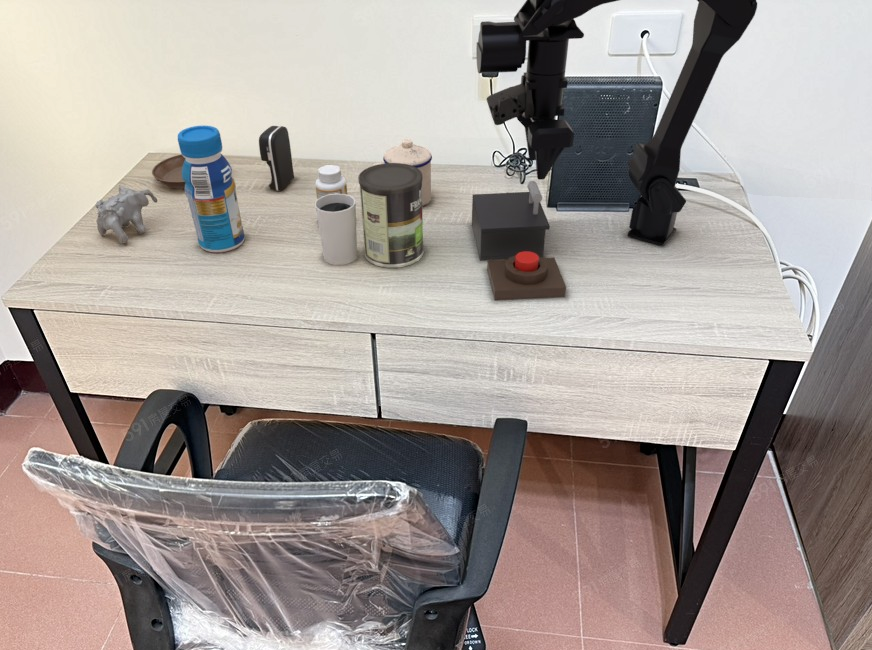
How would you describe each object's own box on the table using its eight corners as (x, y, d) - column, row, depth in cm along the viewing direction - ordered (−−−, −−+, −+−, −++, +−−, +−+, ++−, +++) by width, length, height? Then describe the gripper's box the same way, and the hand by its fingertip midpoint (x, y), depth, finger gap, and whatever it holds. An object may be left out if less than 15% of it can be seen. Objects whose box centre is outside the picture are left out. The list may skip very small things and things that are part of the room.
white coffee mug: (342, 242, 125) (337, 189, 119) (367, 255, 122) (363, 202, 115) (313, 256, 122) (306, 203, 115) (338, 270, 118) (332, 216, 112)
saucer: (142, 179, 149) (138, 166, 147) (204, 157, 156) (201, 145, 154) (177, 201, 140) (173, 188, 138) (240, 177, 148) (238, 165, 146)
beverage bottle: (189, 243, 127) (160, 134, 114) (227, 226, 131) (204, 118, 118) (216, 259, 122) (190, 147, 109) (255, 240, 127) (235, 130, 114)
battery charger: (279, 176, 147) (270, 121, 140) (295, 178, 146) (287, 123, 139) (263, 190, 142) (254, 135, 135) (281, 192, 141) (272, 136, 134)
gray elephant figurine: (91, 242, 128) (77, 203, 123) (129, 212, 137) (117, 174, 132) (135, 248, 126) (123, 208, 121) (171, 217, 135) (161, 179, 130)
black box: (529, 222, 129) (532, 195, 125) (542, 258, 119) (545, 229, 116) (471, 225, 129) (472, 198, 125) (479, 261, 119) (481, 233, 116)
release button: (535, 260, 113) (536, 250, 112) (539, 272, 110) (540, 262, 109) (513, 261, 113) (513, 251, 112) (516, 273, 110) (517, 263, 109)
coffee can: (428, 240, 125) (427, 163, 116) (417, 270, 117) (416, 191, 108) (371, 236, 127) (366, 160, 118) (357, 265, 119) (350, 187, 110)
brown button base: (553, 267, 117) (555, 248, 115) (565, 297, 110) (567, 278, 108) (487, 270, 117) (487, 251, 114) (494, 301, 110) (495, 281, 108)
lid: (535, 195, 125) (537, 170, 122) (549, 229, 116) (552, 204, 113) (472, 198, 125) (473, 173, 122) (481, 232, 116) (482, 207, 113)
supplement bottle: (334, 211, 134) (329, 160, 128) (356, 220, 132) (351, 167, 125) (313, 223, 131) (307, 170, 125) (335, 232, 128) (329, 178, 122)
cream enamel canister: (434, 189, 140) (433, 131, 133) (430, 211, 133) (429, 151, 126) (374, 188, 142) (370, 131, 134) (367, 209, 135) (363, 150, 127)
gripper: (484, 53, 113) (480, 148, 123) (501, 93, 98) (495, 197, 108) (554, 50, 113) (544, 146, 123) (580, 89, 98) (567, 193, 108)
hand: (536, 169), depth 116 cm, fingers open, 7 cm apart
